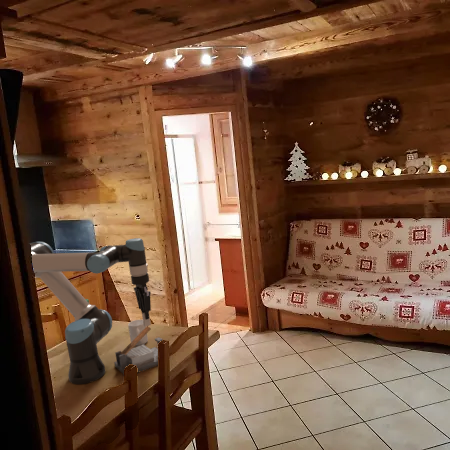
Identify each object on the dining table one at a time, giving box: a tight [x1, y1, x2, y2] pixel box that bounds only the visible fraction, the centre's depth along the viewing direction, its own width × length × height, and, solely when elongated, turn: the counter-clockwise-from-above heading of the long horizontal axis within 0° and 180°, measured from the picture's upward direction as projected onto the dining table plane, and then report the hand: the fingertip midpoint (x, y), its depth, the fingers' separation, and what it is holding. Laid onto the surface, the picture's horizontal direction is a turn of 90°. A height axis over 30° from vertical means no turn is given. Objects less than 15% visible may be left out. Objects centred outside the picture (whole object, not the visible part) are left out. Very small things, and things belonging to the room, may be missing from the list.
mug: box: [127, 319, 149, 347], centre depth 218 cm, size 12×8×10 cm
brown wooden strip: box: [118, 326, 151, 357], centre depth 195 cm, size 18×3×1 cm
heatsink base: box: [113, 337, 164, 375], centre depth 197 cm, size 21×14×8 cm
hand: (147, 325), depth 198 cm, fingers closed
